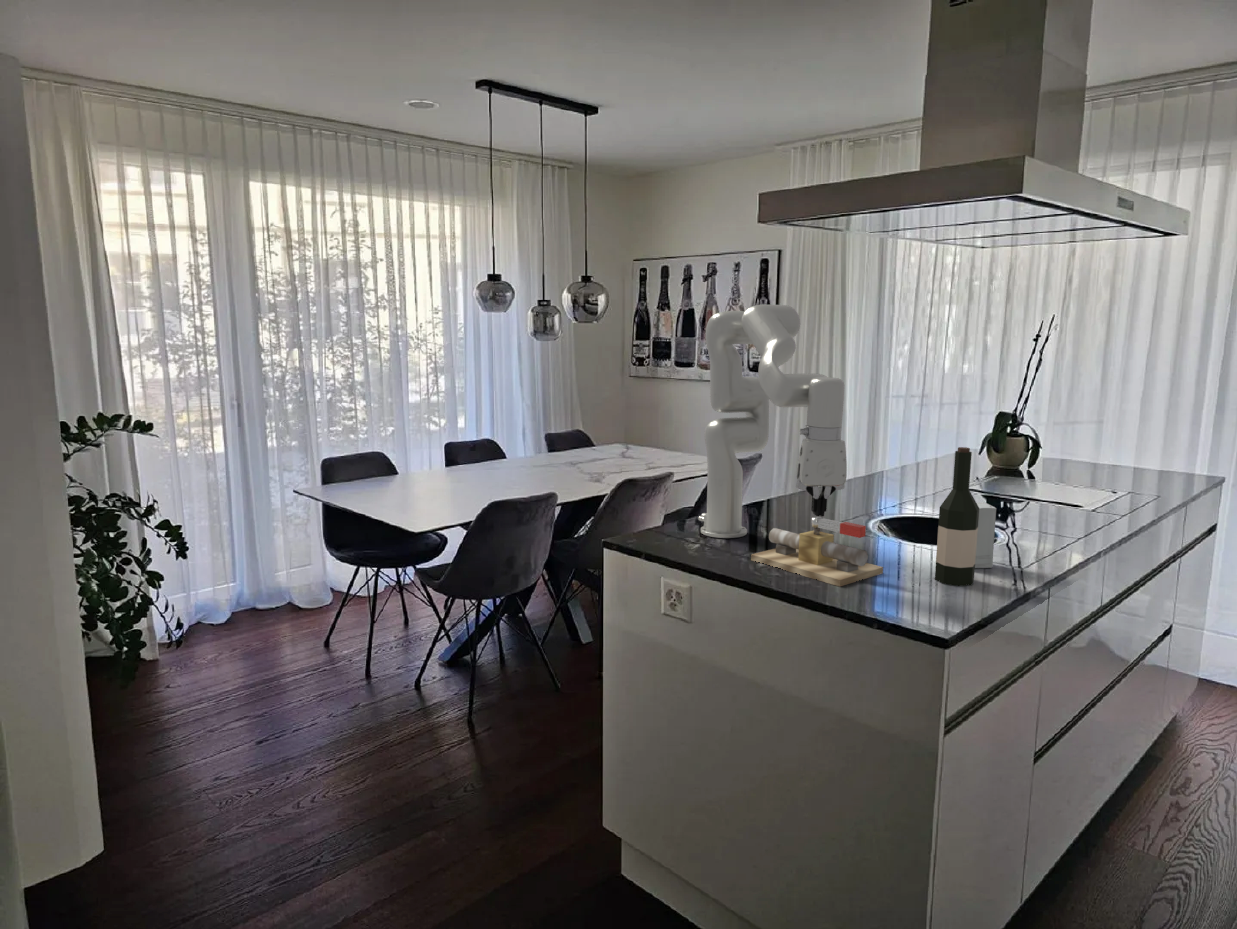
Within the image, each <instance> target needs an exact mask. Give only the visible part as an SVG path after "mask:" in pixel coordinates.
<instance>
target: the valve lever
mask: <svg viewBox="0 0 1237 929" xmlns="http://www.w3.org/2000/svg"><path fill="white" fill-rule="evenodd" d="M866 526H867V525H863V524H858V523H854V522H849V521H843V522H842V521H838V520H834V519H828V518H825V517H823V516H812V517H811V525H810V527H812V528H814V527H815V528H820V529H821V530H827V531H832V532H836V533H839V534H840V535H845V536H849V537H855V538H858V539H860V538H864V537H866V532H867V531H866V530H867V527H866Z"/></svg>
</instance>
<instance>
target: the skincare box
mask: <svg viewBox="0 0 1237 929" xmlns="http://www.w3.org/2000/svg"><path fill="white" fill-rule="evenodd" d="M976 503H977V505H978V507H979V520H978V533H977V546H976V559H975V569H989V568H990V569H991V568H993V563H994V562H993V561H994V547H995V531H996V516H997V507H995V506H993V505H991V504H989V503H986V502H985V501H984V502H983V501H982V502H976Z"/></svg>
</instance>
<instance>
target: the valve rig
mask: <svg viewBox="0 0 1237 929" xmlns="http://www.w3.org/2000/svg"><path fill="white" fill-rule="evenodd" d="M834 537H835V534H832V533H828V532H824V531H821V528H815V527H813V530H808V531H805V532H800V533H796V532H792V531H789V530H785V529H780V528H777V527H773V528H772V529H771V530H770V531H769V533H768V539H769V542H770V543H773V544H775V548H772V549H768V550H767V549H766V550H763V551H759V552H756V553H751V555H750V556H751V557H750V561H752V562H755V561H756V562H755V563H758V562H760V563H759V564H762V563H764V564H763V565H765V564H767V565H766V566H768V565H770V566H769V567H772V566H773V568H775V567H778V568H781V569H780V570H782V569H783V571H785V570H786V572H789V573H792V574H795V573H797V574H796V575H799V574H800V575H799V576H802V577H806V578H809V579H812V580H816V579H817V580H816V581H820V582H822V583H826V584H828V585H832V586H837V587H843V586H846V585H849V584H852V583H853V584H854V583H856V581H857V582H859V580H860V581H863V580H866V579H869V578H872V577H876V576H879V575H882V574H884V566H880V565H876V564H873V563H868V558H869V557H868V556H869V555H868V551H867V550H864V549H860V548H856V547H852V546H848V545H844V544H840V543H836V542H834V540H835V538H834ZM778 568H777V569H778ZM862 579H863V580H862Z"/></svg>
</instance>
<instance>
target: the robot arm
mask: <svg viewBox="0 0 1237 929" xmlns="http://www.w3.org/2000/svg"><path fill="white" fill-rule="evenodd" d="M800 328H801V319H800V316H799V313H798V312H797V310H796V309H795V308H793V307H792V306H790V305H787V304H755V305H752V306H750V307H749V308H746V310H727V311H726V310H724V311H720V312H717V313H714V314H713V315H712V316H710V318H709V319H708V322H706V327H705V343H706V349H707V351H708V356H709V379H710V380H709V387H710V388H709V389H710V391H709V392H710V393H709V394H710V396H709V397H710V405H711V408H712V409H713V410H714V411H715V412H716V413H717V412H718V413H722V414H723V413H724V414H728V413H729V414H732V413H734V414H735V413H745V417H722V418H716V419H713V420H711V421H710V422H708V423H707V425H706V426H705V429H704V442H705V449H706V458H707V459H706V461H707V463H706V464H707V474H706V475H707V484H706V485H707V487H706V488H707V491H706V512H703V513H701V515H699V516H698V521H701V522H703V526H701V527H700V533H701V534H703V535H704V536H707V537H710V538H711V537H712V538H717V539H718V538H719V539H736V538H742V537H744V536H746V535H747V533H748V529H747V528H746V527H745V526H742V514H743V511H742V510H743V481H744V480H743V478H744V477H743V476H744V475H743V474H744V470H743V466H742V465H741V462H740V461H739V460H738V458H737V456H736V454H740V453H755V452H756V453H757V452H760V451H762V450H764V449H765V448H766V446H767V444H768V440H769V432H770V401H771V403H772V404H773V405H774V406H776V407H778V408H783V409H784V408H786V409H787V408H788V409H789V408H807V414H806V425H805V426H804V427H803V428H800V429H799V435H801V436H802V435H803V436H804V437H805V438H803V439H802V442H801V446H800V449H799V454H798V459H797V460H798V461H797V467H796V470H797V471H796V479H797V481H796V484H795V487H796V488H797V489H798V490H800V491H806V493H808V494H809V495H810V496H811V507H810V508H811V512H812V514H813V515H814V516H815V517H825V512H827V505H828V499H830V496H831V495H832V494H834V492H837V491H841V490H844V489H845V487H846V486H845V484H846V482H847V474H848V473H847V472H848V469H847V468H848V467H847V466H848V465H847V464H848V462H847V448H846V442H845V440H843V439H842V430H843V427H842V425H843V415H844V414H843V412H844V399H845V382H844V381H843V379H842V378H839V377H838V378H837V377H831V376H830V377H829V376H826V375H824V374H821V373H783V372H782V371H781V369H780V368H779V367H781V366H782V365H784V364H786V363H787V362H788V361H790V359H791V358H792V357H793V356H794V354H795V353H796V352H795V351H796V348H797V347H796V346H797V345H796V341H795V340H794V338H795V337H796V336H797V334H798V333H799V331H800ZM734 345H753V346H754V348H755V350H756V351H757V353H758V355H759V356H760V357H761V358H760V360H759V364H758V377H757V376H743V358H742V356H741V355H740V353H739V351H738V349H737V348H736V347H735V346H734ZM819 487H821V488H820V492H819Z"/></svg>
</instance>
